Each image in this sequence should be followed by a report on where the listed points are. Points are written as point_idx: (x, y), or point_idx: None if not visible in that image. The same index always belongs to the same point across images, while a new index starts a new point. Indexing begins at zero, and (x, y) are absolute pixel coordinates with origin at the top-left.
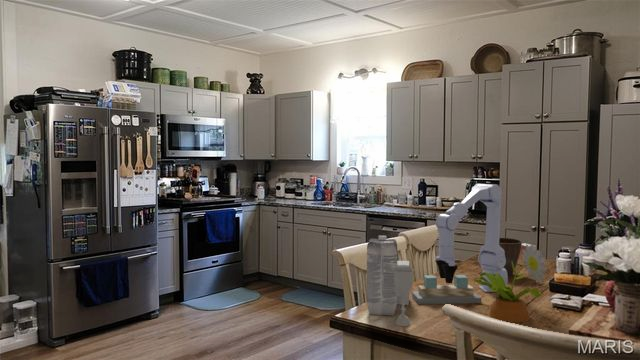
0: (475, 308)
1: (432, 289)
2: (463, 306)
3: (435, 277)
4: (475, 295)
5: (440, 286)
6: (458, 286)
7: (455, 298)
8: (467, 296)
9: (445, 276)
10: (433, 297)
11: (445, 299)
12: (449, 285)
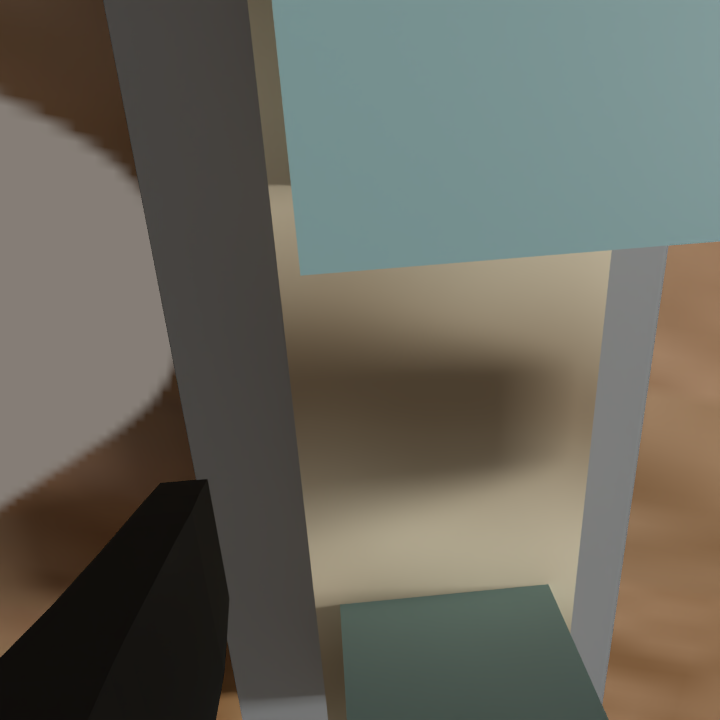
0: (3, 601)
1: (256, 45)
2: (67, 487)
3: (368, 224)
4: None
5: (479, 311)
6: (345, 647)
7: (194, 455)
8: (303, 626)
9: (55, 618)
10: (188, 52)
11: (167, 287)
12: (550, 508)
